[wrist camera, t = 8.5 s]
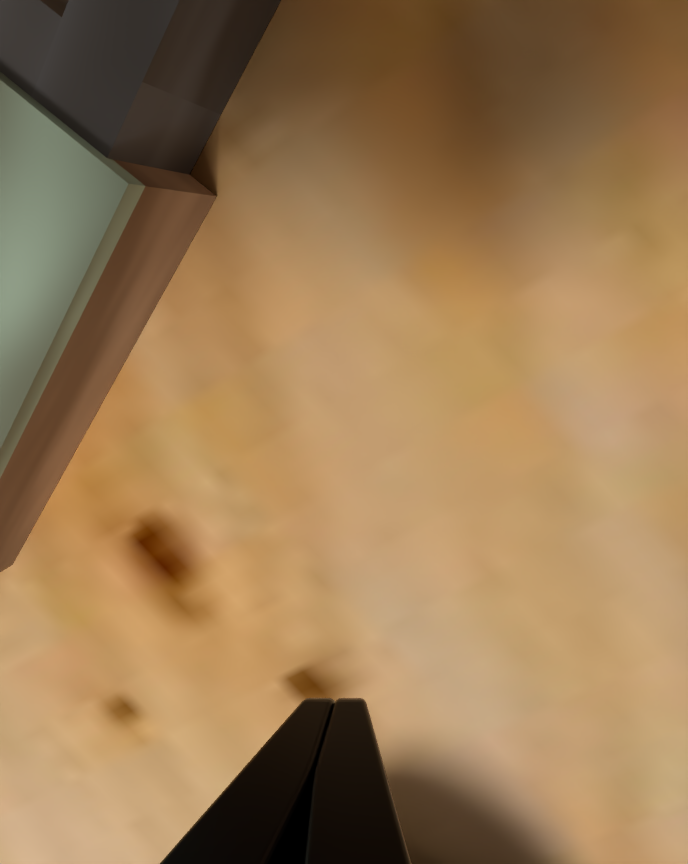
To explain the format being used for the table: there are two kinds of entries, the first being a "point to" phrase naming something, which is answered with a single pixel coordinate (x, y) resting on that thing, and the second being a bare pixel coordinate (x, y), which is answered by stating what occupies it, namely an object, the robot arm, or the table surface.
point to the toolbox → (95, 204)
